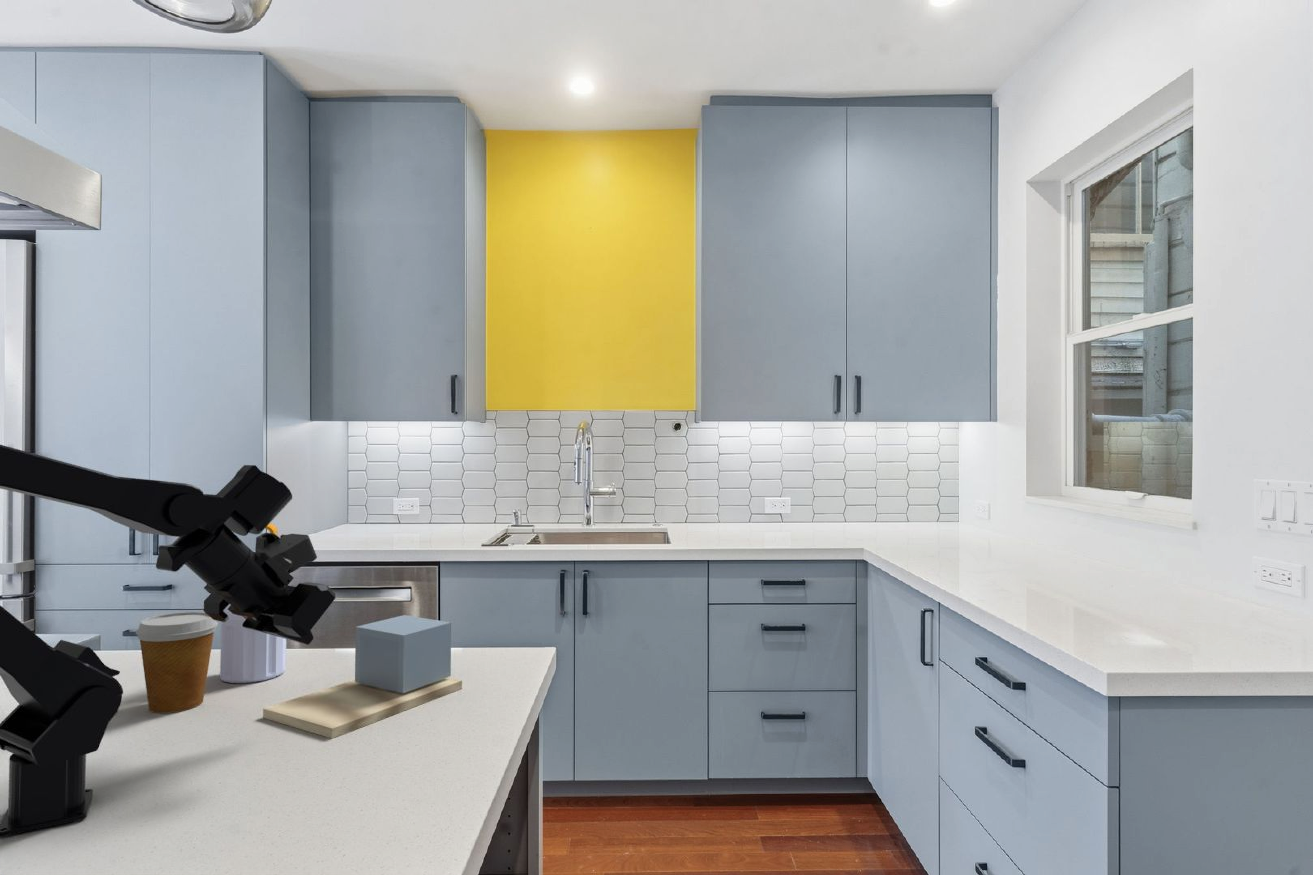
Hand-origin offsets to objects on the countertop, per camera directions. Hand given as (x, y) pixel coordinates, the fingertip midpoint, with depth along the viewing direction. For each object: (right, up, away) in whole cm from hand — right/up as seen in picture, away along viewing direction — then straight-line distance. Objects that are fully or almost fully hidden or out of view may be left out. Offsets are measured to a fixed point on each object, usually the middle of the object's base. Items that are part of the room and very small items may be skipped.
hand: (309, 641), depth 95 cm
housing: (+8, -9, +13) cm, 18 cm away
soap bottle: (-18, -11, +20) cm, 29 cm away
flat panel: (+5, -11, +8) cm, 14 cm away
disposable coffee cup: (-21, -11, +6) cm, 25 cm away
